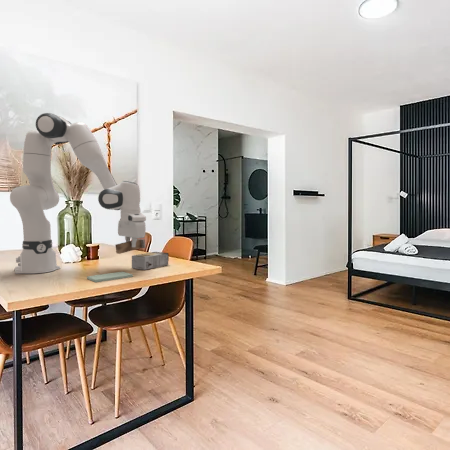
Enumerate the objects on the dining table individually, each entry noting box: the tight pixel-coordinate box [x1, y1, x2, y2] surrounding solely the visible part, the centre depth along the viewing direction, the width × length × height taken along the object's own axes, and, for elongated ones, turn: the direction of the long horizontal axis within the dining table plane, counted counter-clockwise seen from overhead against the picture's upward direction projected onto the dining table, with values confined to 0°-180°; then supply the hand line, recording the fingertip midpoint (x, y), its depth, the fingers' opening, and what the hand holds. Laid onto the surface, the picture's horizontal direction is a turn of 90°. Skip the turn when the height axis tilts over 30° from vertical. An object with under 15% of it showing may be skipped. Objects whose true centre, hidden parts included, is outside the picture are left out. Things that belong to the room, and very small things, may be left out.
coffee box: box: [131, 251, 170, 271], centre depth 175 cm, size 9×6×16 cm
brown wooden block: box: [114, 238, 146, 255], centre depth 164 cm, size 13×6×4 cm, turn 139°
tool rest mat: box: [86, 271, 134, 283], centre depth 149 cm, size 9×16×1 cm, turn 132°
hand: (131, 246), depth 164 cm, fingers closed on brown wooden block, 3 cm apart
